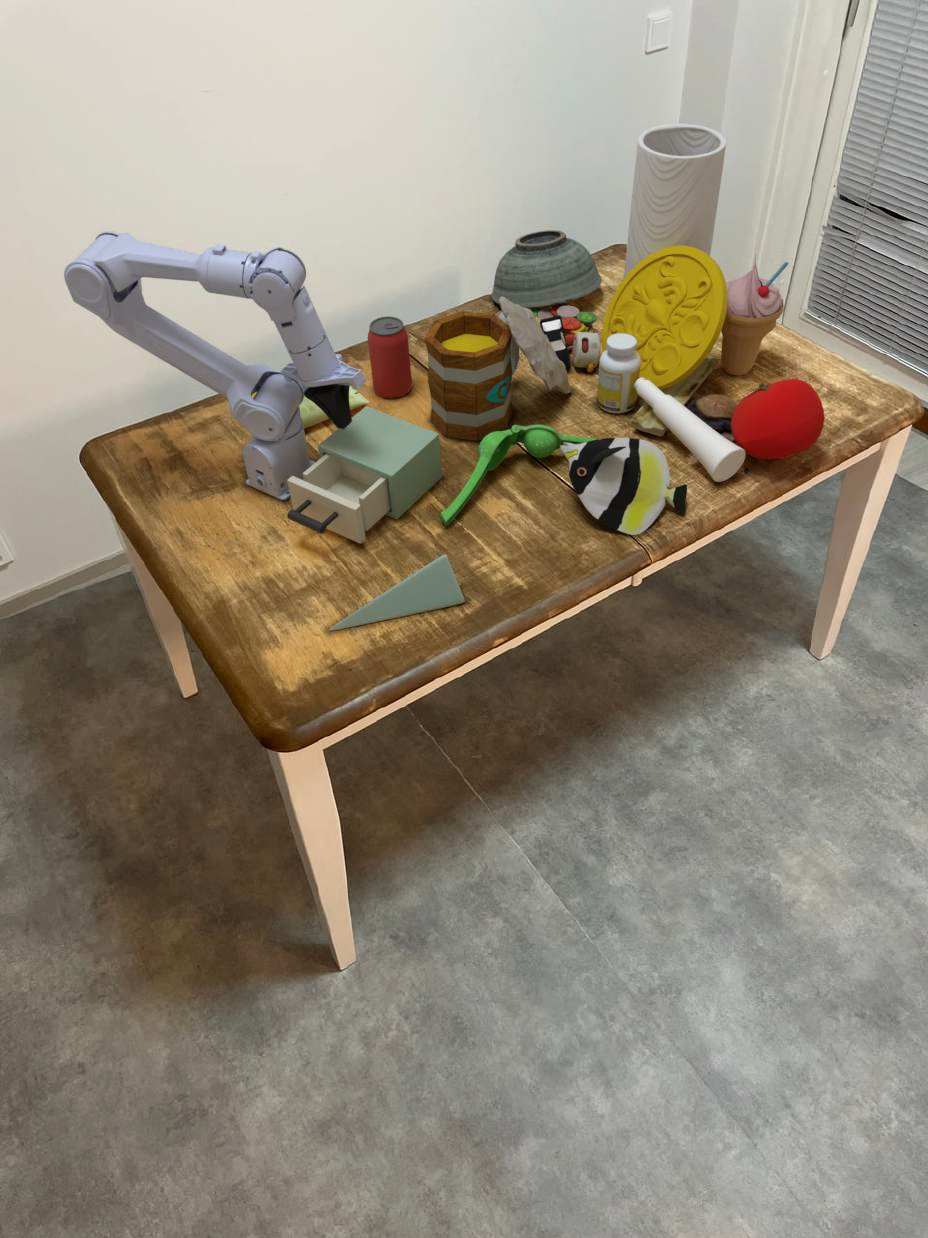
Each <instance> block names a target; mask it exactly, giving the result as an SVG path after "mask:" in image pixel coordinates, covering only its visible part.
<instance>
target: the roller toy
mask: <svg viewBox="0 0 928 1238" xmlns="http://www.w3.org/2000/svg"><path fill="white" fill-rule="evenodd" d="M571 356H572V357H571V358H572V359H571V360H572V365H573V367H575V368H585V369H586V371H587V373H592V372H593V371H594V368H596V367H597V366H599V365H598V364H599V362H600V357H601V337H600V334H599V333H598V332H593V333H588V332H578V333H576V334H575V336H574V340H573V348H572V351H571Z"/></svg>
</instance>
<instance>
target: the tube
mask: <svg viewBox="0 0 928 1238" xmlns="http://www.w3.org/2000/svg"><path fill="white" fill-rule="evenodd" d="M370 403H371V401H370V400H368V399H367V398H366V397H365V396H363V395H362V394H361V393H360V392H358V390H356V389H353V388H352V386H350V387H349V405H350V411H353V410H355V409H359V408H360V407H363V406H365V405H368V404H370ZM299 408H300V415H301V418H302V423H303V427H304V429H307V428H309V427H312V426H315V425H317V424H320V423H323V422H325V421H327V420H330V419H329V417H328V416H327V415H326V414H325V413H324V412H323V411H322V410H321V409H320V408H319V407H318V406H317V405H316V404H315V403H313V402H312V401H311V400H309V399H308V398H306V397H305V396H304V399H303V401H302V403H301V404H300V405H299Z"/></svg>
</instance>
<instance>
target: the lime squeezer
mask: <svg viewBox="0 0 928 1238" xmlns="http://www.w3.org/2000/svg"><path fill="white" fill-rule="evenodd" d="M597 439H598V438H591V437H584V436H577V435H568V434H561V433H560V432H559V431H558V430H557V429H556V428H553V427H551V426H548V425H545V424H530V425H528V426H524V425H519V424H513V425H512V426H511V429H510V428H509V429H506V430H505V431H496V432H492V433H490V434H488V435H486V436H485V437H484V438H483V439H481V440H480V443H479V444H478V450H477V454H478V461H477V463H476V465H475V467H474V469H473V471H472V474H471V475H470V477H469V478H468V480H467V482H466V483H465V485H464V487H463V488H462V489H461V491H460V492H459V493H458V495H457V496H456V498H455V499H454V500H453V501H452V502H451V503H450V505H448V506H447V508H445V509H444V510H442V511H440V513H439V515H440V516H439V517H440V519H441V521H442V523H443V525H444V527H447V526H449V525H450V524H451V522H453V520H454V519H455V518H456V517H457V515H458V514H459V513H460V512H461V510H462V509H463V508H464V507H465V505H466V504H467V503H468V502H469V500H470V499H471V497H472V496H473V494H475V492H476V491H477V489H478V487H479V486H480V484H481V482H482V481H483V479H484V478H485V476H486V474H487V473H488V471H493V470H495V469H497V468H498V466H499V465H500V464H501V462H502V461H503V460H504V459H505V457H506V455H507V453H508V452H509V449H510V448H511V446H516V445H518V443H520V444H522V445H524V448H525V450H526V452H527V453H528V454H530V455H531V456H533V457H535V458H539V459H544V458H547V457H549V456H551V455H552V454H554V452H555V451H557V450H559V449H560V450H561V447H560V446H561V445H563V442H566V443H572V444H581V443H585V442H589V441H592V440H597Z"/></svg>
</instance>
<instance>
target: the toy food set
mask: <svg viewBox="0 0 928 1238" xmlns="http://www.w3.org/2000/svg"><path fill="white" fill-rule="evenodd" d="M530 310H531V311H532V312H533V313H534V317H535V318H536V320H537V322H538V323H539V325H540V321H541V319H546V318H550V317H555V316H561V317H562V322H563V327H564V332H565V337H566V343H567V344H568V345H567V349H568V351H571V350H572V348H573V340H574V336H575V334H576V333H578V332H588V333H594V326H593V324H594V323H595V322H596V321H597V318H598V317H597V315H596V314H595V313H593V312H591V311H580V309H579V308H578V307H576V306H573V305H569V304H568V303H566V302H565V303H561V304H556V305H550V307H543V308H541V307H531V308H530ZM540 327H541V326H540Z"/></svg>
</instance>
